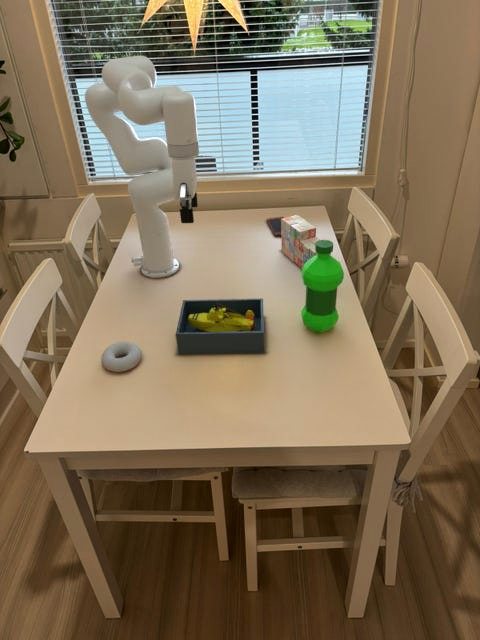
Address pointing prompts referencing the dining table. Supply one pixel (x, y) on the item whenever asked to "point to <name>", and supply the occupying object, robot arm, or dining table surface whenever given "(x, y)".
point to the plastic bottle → (321, 288)
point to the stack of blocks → (298, 239)
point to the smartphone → (275, 225)
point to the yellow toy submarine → (222, 321)
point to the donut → (121, 363)
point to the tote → (220, 342)
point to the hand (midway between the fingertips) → (189, 214)
